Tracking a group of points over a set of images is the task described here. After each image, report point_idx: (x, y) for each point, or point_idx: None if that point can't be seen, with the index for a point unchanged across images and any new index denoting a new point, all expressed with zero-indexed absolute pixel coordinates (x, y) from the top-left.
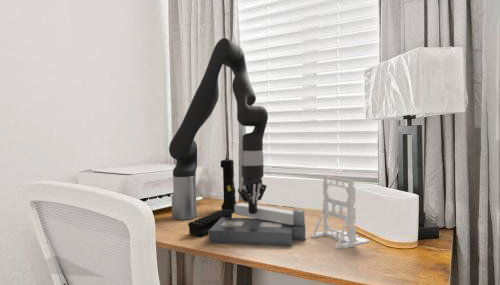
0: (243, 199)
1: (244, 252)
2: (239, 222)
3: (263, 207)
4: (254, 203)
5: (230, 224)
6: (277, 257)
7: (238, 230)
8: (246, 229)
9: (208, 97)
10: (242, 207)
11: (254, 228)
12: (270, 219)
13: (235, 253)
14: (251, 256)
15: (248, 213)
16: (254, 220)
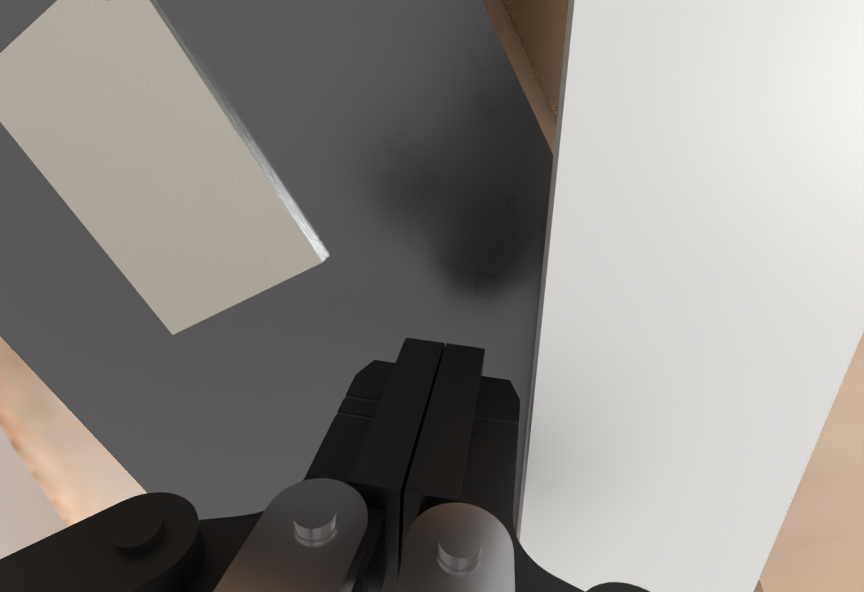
0: (39, 558)
1: (85, 432)
2: (244, 228)
3: (676, 537)
4: (383, 590)
5: (94, 181)
6: None
7: (68, 378)
8: (149, 424)
9: None
10: (572, 35)
11: (229, 470)
12: None
13: (29, 397)
14: (85, 488)
15: (549, 208)
16: (483, 329)
